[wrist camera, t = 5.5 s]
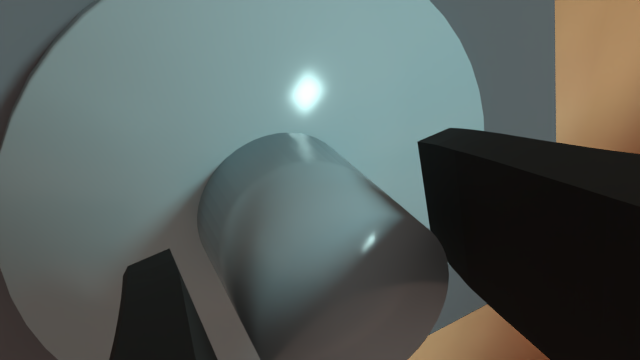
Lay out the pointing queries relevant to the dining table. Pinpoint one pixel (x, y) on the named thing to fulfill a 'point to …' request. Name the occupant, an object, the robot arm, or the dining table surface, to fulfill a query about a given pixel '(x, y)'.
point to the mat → (462, 15)
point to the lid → (236, 172)
